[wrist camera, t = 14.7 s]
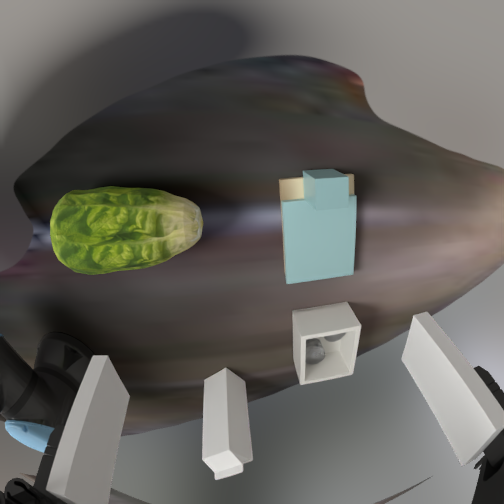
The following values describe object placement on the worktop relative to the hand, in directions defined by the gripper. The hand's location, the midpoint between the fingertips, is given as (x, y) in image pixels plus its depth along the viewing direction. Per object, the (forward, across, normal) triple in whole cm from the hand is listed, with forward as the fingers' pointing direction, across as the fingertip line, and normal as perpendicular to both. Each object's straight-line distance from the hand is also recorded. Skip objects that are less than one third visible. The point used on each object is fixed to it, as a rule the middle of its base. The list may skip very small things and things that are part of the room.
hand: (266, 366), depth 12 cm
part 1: (+32, +10, -30) cm, 45 cm away
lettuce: (+33, -15, -2) cm, 36 cm away
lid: (+32, +12, -7) cm, 35 cm away
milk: (+33, -7, -38) cm, 51 cm away
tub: (+33, +12, -28) cm, 45 cm away
